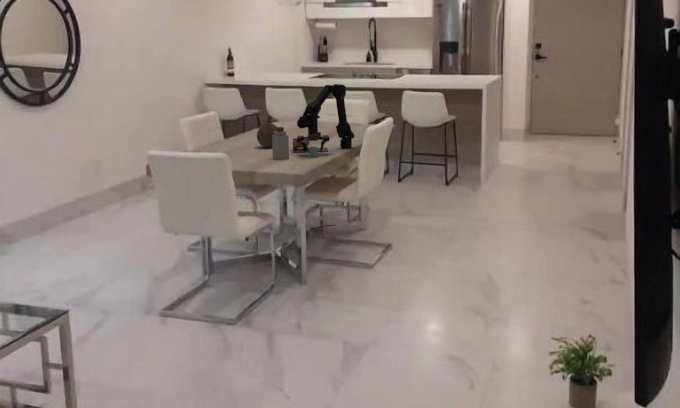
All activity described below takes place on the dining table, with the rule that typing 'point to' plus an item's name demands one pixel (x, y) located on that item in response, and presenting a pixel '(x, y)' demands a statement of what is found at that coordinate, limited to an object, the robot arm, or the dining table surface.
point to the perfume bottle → (280, 144)
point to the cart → (300, 144)
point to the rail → (308, 150)
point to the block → (313, 151)
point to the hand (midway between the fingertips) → (313, 152)
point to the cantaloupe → (266, 134)
